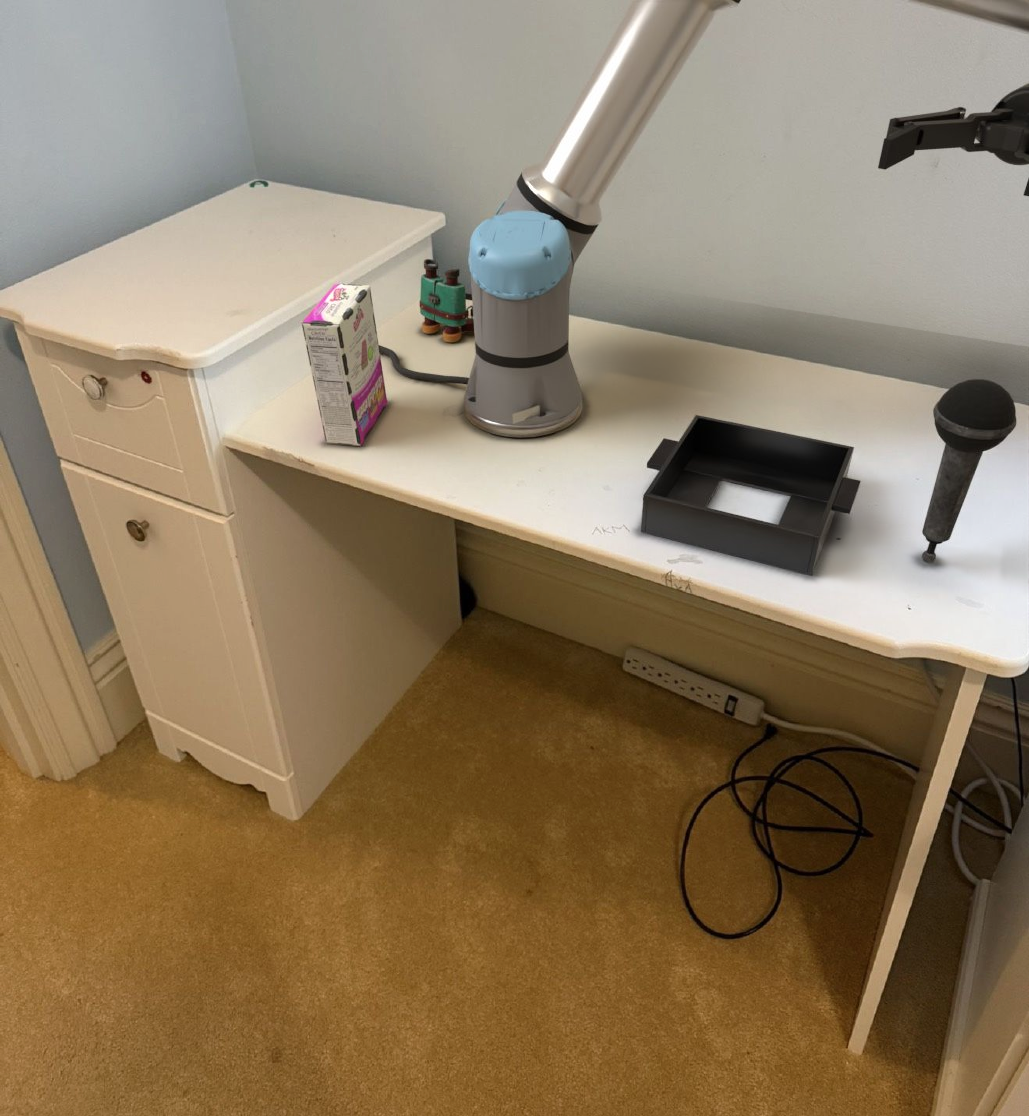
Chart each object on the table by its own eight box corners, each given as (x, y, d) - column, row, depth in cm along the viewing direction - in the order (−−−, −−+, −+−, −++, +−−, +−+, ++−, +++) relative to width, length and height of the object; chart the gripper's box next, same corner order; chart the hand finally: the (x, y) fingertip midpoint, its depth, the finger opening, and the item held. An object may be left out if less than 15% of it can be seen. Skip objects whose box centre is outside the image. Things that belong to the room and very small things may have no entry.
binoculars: (500, 261, 133) (450, 275, 127) (497, 331, 139) (450, 347, 133) (457, 247, 138) (407, 260, 132) (456, 315, 144) (409, 330, 138)
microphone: (922, 590, 89) (981, 409, 76) (877, 550, 94) (925, 373, 81) (979, 573, 91) (1046, 393, 78) (931, 534, 96) (987, 359, 83)
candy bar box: (352, 401, 122) (333, 282, 112) (388, 404, 121) (372, 284, 111) (322, 445, 113) (299, 320, 103) (360, 448, 112) (340, 322, 102)
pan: (624, 527, 98) (626, 490, 95) (677, 446, 111) (681, 411, 108) (830, 580, 90) (839, 542, 87) (862, 486, 103) (871, 450, 100)
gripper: (1154, 179, 92) (1086, 237, 80) (912, 139, 105) (823, 183, 93) (1186, 97, 87) (1119, 145, 75) (929, 66, 100) (837, 103, 88)
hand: (955, 167), depth 84 cm, fingers open, 13 cm apart
